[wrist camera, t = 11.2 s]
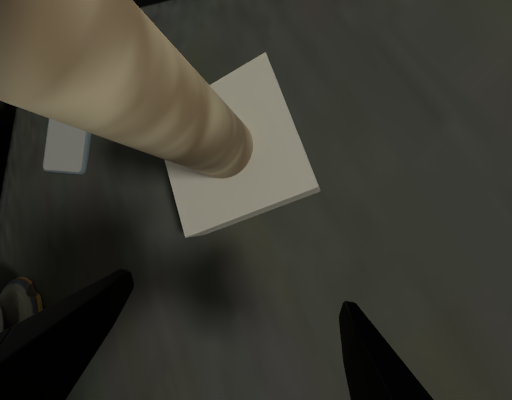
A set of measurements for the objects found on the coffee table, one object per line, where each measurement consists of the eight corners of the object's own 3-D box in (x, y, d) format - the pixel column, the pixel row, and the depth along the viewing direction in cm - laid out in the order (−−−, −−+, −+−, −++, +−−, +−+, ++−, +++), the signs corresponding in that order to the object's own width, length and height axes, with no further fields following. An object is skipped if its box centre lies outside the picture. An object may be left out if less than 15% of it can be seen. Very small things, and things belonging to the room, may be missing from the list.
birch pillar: (232, 189, 18) (37, 132, 6) (187, 160, 20) (-39, 69, 8) (264, 134, 18) (123, -50, 6) (216, 108, 20) (23, -78, 7)
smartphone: (41, 171, 31) (55, 64, 31) (49, 172, 32) (63, 69, 32) (82, 174, 28) (97, 58, 29) (90, 175, 29) (104, 62, 30)
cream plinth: (320, 191, 19) (318, 186, 16) (203, 235, 22) (185, 237, 20) (274, 74, 21) (265, 52, 18) (174, 129, 25) (153, 118, 22)
